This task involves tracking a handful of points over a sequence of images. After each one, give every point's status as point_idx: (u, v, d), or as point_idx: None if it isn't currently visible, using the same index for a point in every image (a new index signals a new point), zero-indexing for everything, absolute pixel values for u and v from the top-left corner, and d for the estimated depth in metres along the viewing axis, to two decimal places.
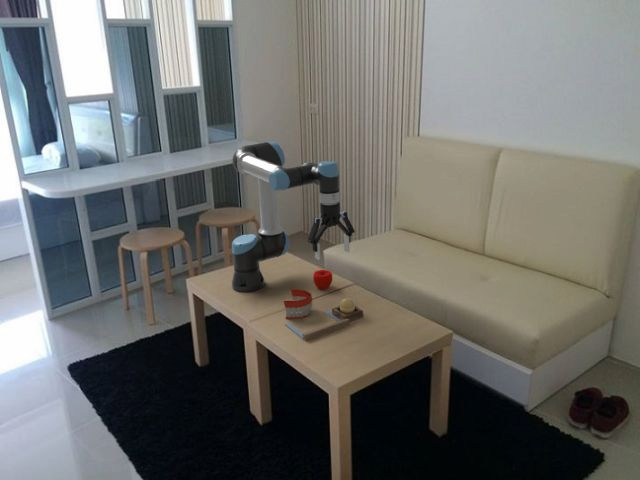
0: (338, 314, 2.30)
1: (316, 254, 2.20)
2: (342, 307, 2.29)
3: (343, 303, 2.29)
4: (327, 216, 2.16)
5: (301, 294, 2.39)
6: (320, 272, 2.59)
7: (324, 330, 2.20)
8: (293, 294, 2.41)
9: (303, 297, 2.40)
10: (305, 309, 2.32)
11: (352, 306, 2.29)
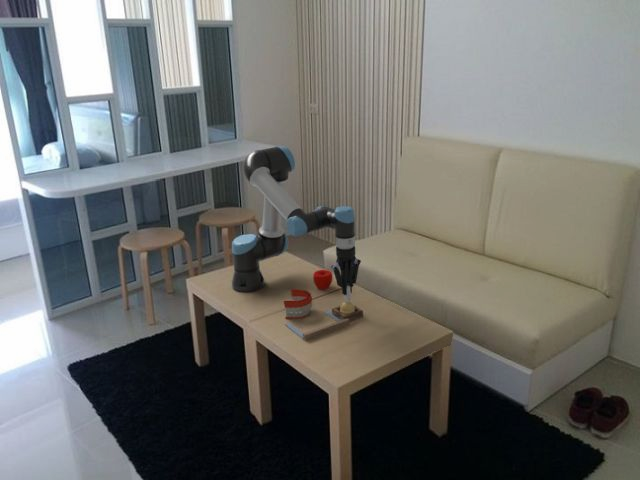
0: (338, 314, 2.30)
1: (345, 297, 2.30)
2: (342, 310, 2.30)
3: (343, 306, 2.30)
4: (341, 259, 2.22)
5: (300, 294, 2.39)
6: (320, 272, 2.59)
7: (324, 330, 2.20)
8: (293, 294, 2.41)
9: (303, 297, 2.40)
10: (305, 309, 2.32)
11: (352, 309, 2.30)
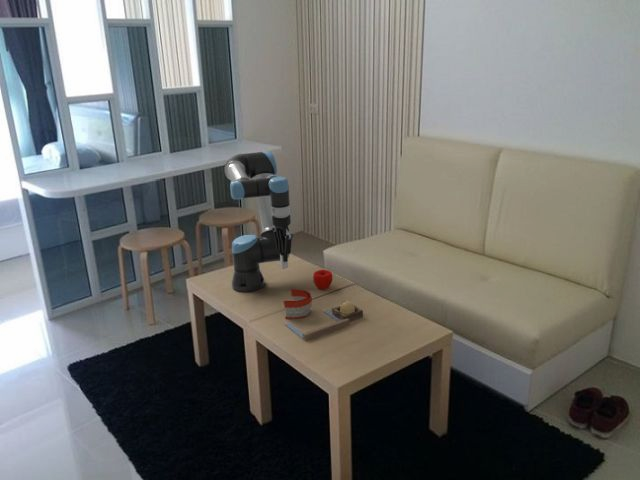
0: (338, 314, 2.30)
1: None
2: (342, 311, 2.30)
3: (343, 307, 2.30)
4: None
5: (300, 294, 2.39)
6: (320, 272, 2.59)
7: (324, 330, 2.20)
8: (293, 294, 2.41)
9: (303, 297, 2.40)
10: (305, 309, 2.32)
11: (352, 310, 2.30)
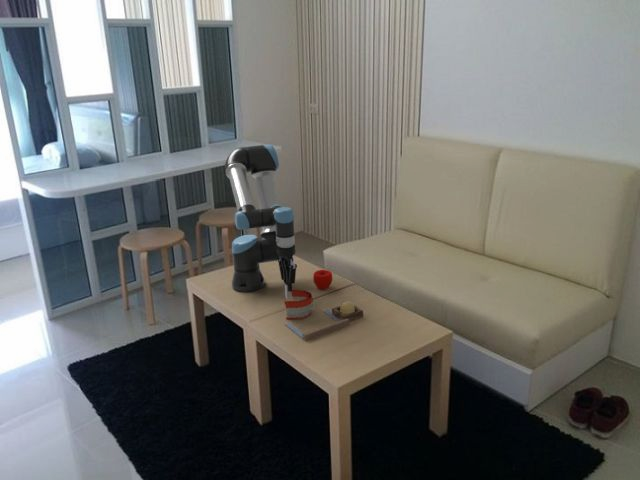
0: (338, 314, 2.30)
1: None
2: (342, 311, 2.30)
3: (343, 307, 2.30)
4: None
5: (301, 294, 2.39)
6: (320, 272, 2.59)
7: (324, 330, 2.20)
8: (293, 294, 2.40)
9: (303, 297, 2.39)
10: (306, 309, 2.31)
11: (352, 310, 2.30)
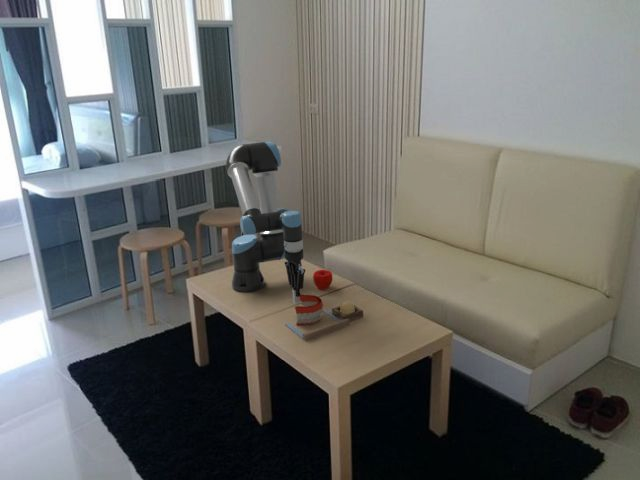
0: (338, 314, 2.30)
1: None
2: (342, 311, 2.30)
3: (343, 307, 2.30)
4: None
5: (310, 299, 2.34)
6: (320, 272, 2.59)
7: (324, 330, 2.20)
8: (302, 299, 2.35)
9: (312, 302, 2.35)
10: (317, 314, 2.27)
11: (352, 310, 2.30)
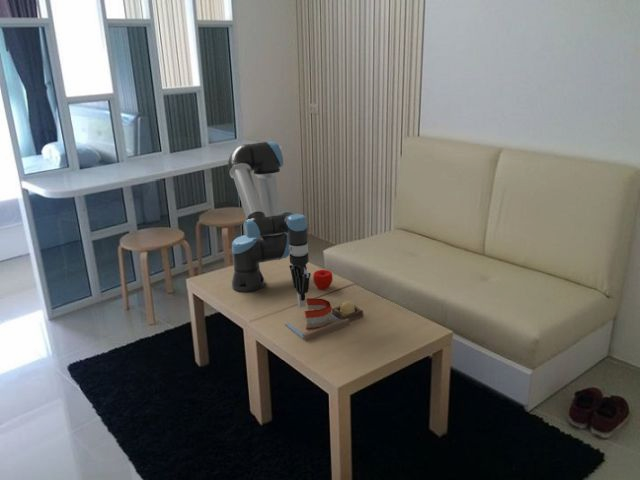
0: (338, 314, 2.30)
1: None
2: (342, 311, 2.30)
3: (343, 307, 2.30)
4: None
5: (317, 302, 2.31)
6: (320, 272, 2.59)
7: (324, 330, 2.20)
8: (309, 303, 2.32)
9: (320, 305, 2.32)
10: (326, 318, 2.24)
11: (352, 310, 2.30)
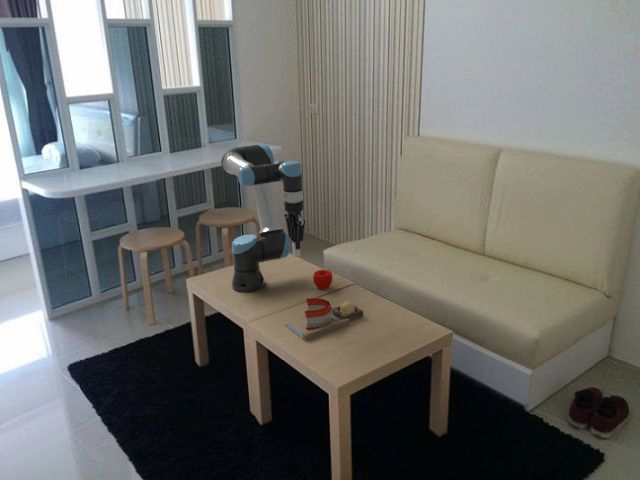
0: (338, 314, 2.30)
1: None
2: (342, 311, 2.30)
3: (343, 307, 2.30)
4: None
5: (317, 302, 2.31)
6: (320, 272, 2.59)
7: (324, 330, 2.20)
8: (309, 303, 2.32)
9: (320, 305, 2.32)
10: (326, 318, 2.24)
11: (352, 310, 2.30)
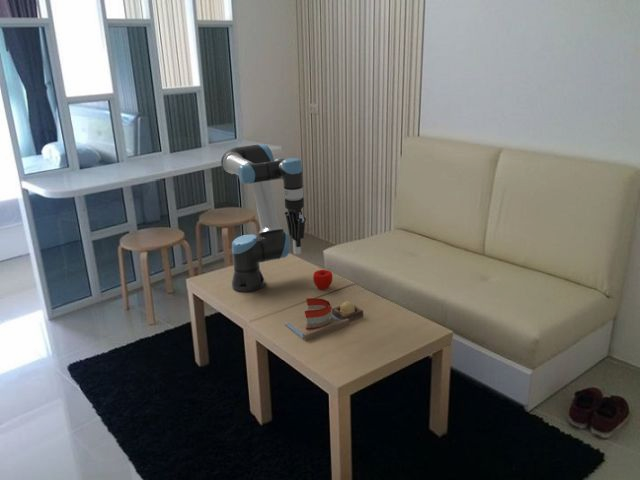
0: (338, 314, 2.30)
1: None
2: (342, 311, 2.30)
3: (343, 307, 2.30)
4: None
5: (317, 302, 2.31)
6: (320, 272, 2.59)
7: (324, 330, 2.20)
8: (309, 303, 2.32)
9: (320, 305, 2.32)
10: (326, 318, 2.24)
11: (352, 310, 2.30)
